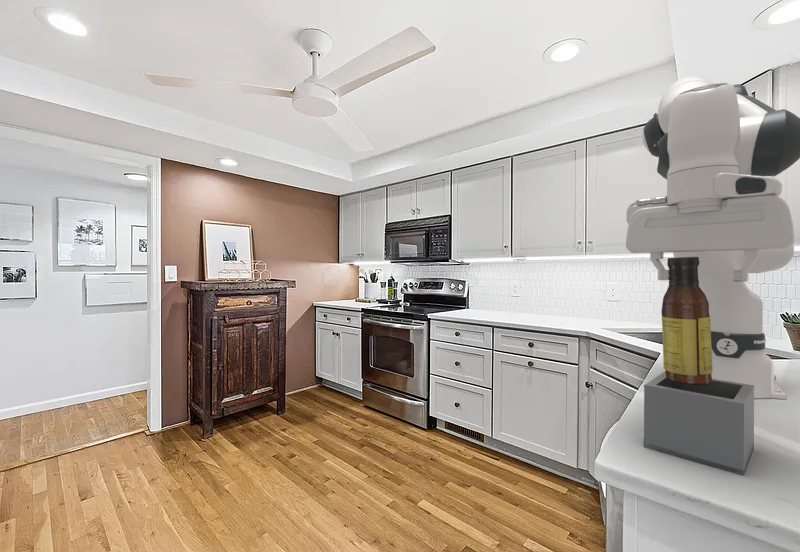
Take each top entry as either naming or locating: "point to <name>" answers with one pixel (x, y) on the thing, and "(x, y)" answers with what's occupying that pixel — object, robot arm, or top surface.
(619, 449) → the top surface
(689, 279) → the sauce bottle
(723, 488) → the top surface
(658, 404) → the bin
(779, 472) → the top surface
